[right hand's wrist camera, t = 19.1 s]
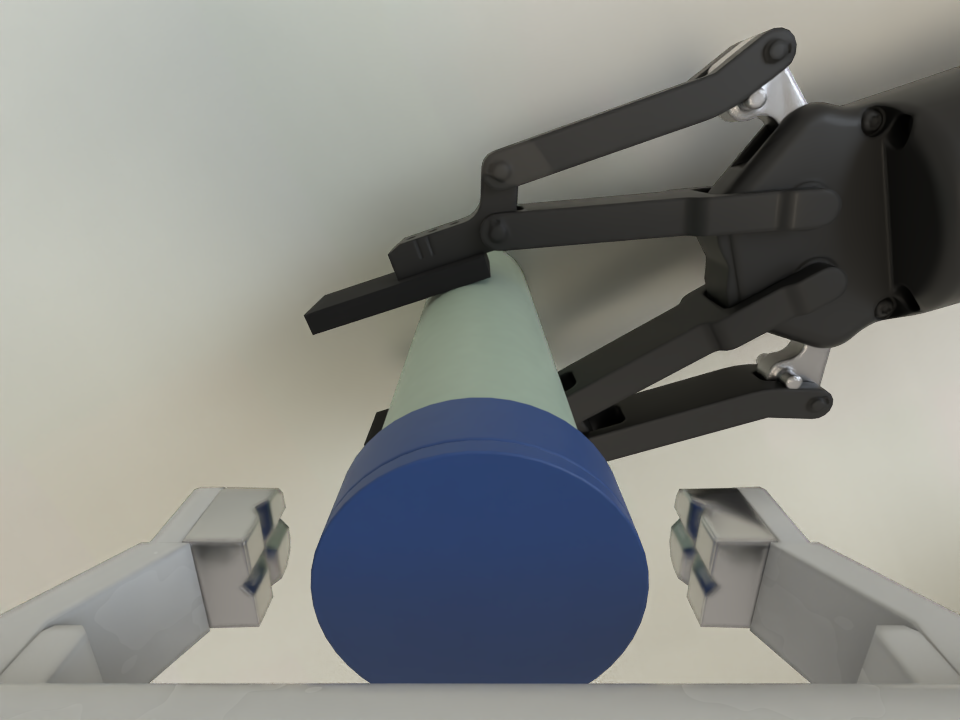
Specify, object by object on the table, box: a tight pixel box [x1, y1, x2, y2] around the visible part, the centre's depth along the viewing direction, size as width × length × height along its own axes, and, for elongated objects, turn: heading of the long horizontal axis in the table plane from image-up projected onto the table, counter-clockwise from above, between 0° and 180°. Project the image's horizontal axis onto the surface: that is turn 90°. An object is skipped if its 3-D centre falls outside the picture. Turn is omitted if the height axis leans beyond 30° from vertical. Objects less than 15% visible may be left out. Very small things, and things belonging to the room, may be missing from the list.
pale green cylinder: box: [382, 251, 577, 429], centre depth 18 cm, size 5×5×19 cm
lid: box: [311, 398, 649, 684], centre depth 9 cm, size 5×5×2 cm
